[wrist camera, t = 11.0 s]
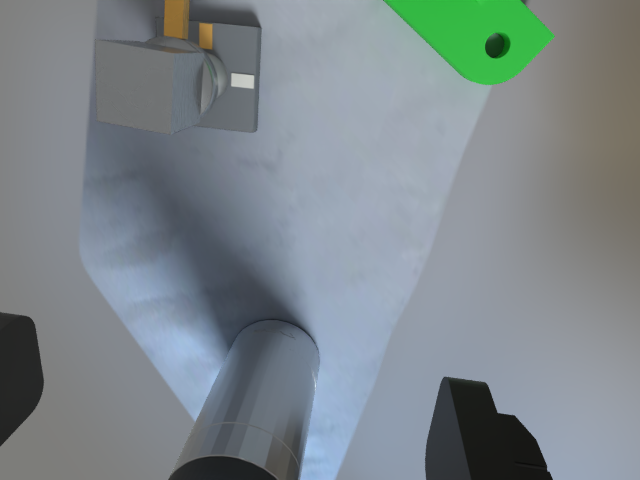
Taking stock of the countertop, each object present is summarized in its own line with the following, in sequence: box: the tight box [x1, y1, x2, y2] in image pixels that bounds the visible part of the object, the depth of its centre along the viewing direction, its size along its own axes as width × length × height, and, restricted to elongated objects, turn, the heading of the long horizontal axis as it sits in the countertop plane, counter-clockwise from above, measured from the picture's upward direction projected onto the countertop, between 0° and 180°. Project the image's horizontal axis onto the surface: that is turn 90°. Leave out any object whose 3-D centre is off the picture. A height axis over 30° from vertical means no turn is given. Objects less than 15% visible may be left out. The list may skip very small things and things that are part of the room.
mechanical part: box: [383, 0, 555, 85], centre depth 32 cm, size 12×6×8 cm, turn 50°
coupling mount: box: [156, 17, 262, 133], centre depth 36 cm, size 8×8×7 cm
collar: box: [95, 0, 218, 135], centre depth 29 cm, size 6×8×7 cm
